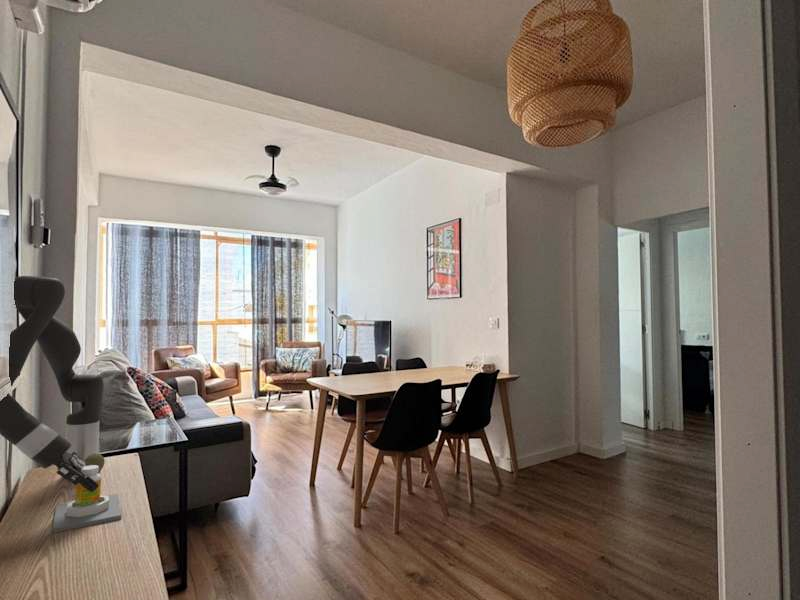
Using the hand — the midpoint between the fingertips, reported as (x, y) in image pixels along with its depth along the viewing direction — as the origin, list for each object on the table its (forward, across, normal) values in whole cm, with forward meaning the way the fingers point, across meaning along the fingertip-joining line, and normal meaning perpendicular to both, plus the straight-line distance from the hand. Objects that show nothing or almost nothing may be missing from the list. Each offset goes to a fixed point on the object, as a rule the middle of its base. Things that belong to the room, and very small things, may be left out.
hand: (96, 485), depth 117 cm
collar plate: (+4, 0, +6) cm, 7 cm away
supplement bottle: (+2, 0, +5) cm, 5 cm away
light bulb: (+3, +23, +7) cm, 25 cm away
